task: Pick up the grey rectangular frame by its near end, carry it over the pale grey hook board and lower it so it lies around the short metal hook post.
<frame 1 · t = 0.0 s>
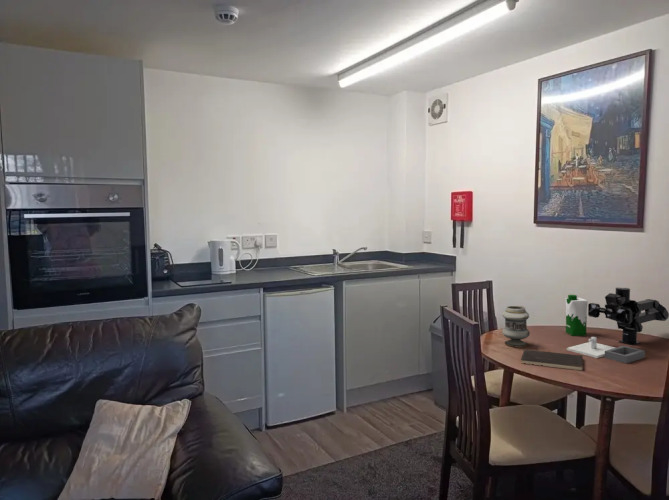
hand: (598, 315, 208), 17 cm above the table, tool horizontal, fingers open, 9 cm apart
grey rectangular frame: (624, 357, 200), on the table
apothecary jar: (515, 344, 224), on the table
hardcover book: (551, 362, 198), on the table
hook board: (593, 350, 211), on the table
milk carton: (575, 334, 239), on the table
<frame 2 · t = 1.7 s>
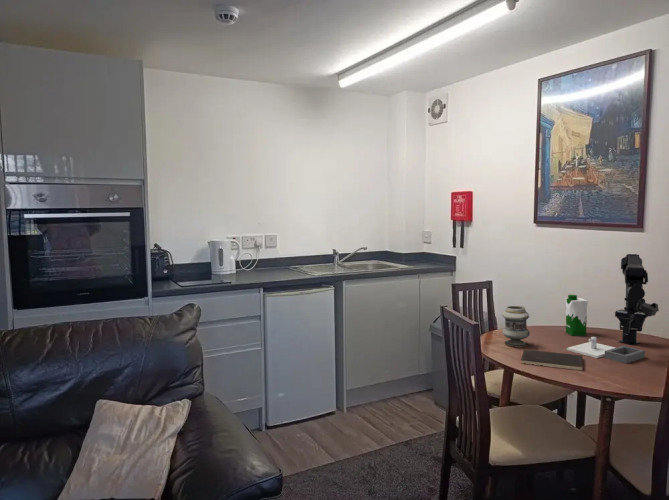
hand: (633, 331, 202), 10 cm above the table, tool pointing down, fingers open, 9 cm apart
nothing on the table moved.
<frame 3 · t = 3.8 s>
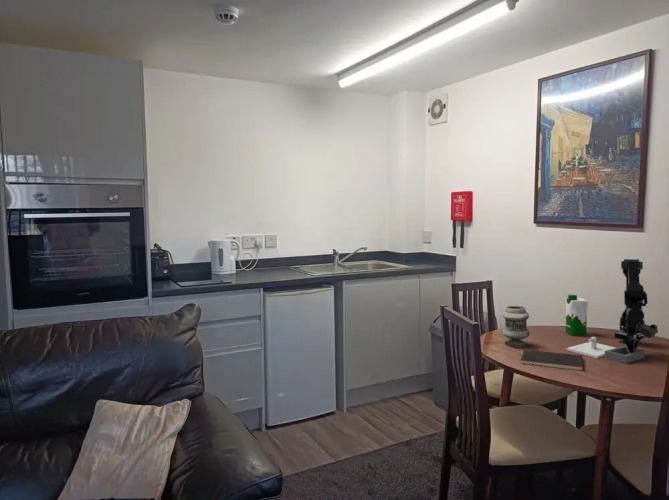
hand: (632, 352, 203), 1 cm above the table, tool pointing down, fingers closed on grey rectangular frame
grey rectangular frame: (624, 357, 200), on the table, touching gripper
everything else where it was.
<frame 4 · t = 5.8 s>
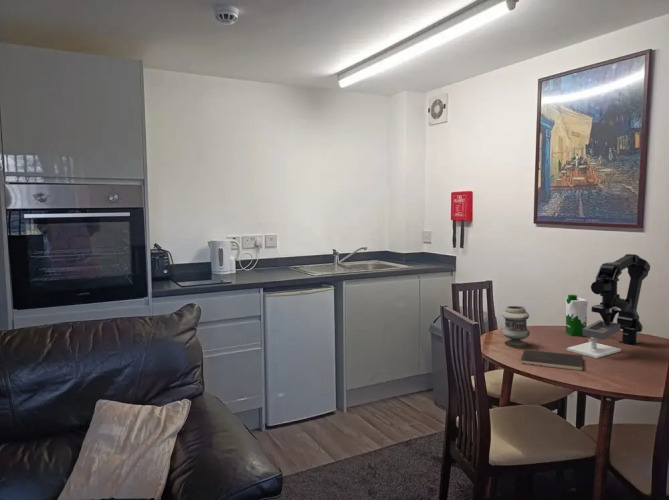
hand: (608, 325, 211), 11 cm above the table, tool pointing down, fingers closed on grey rectangular frame
grey rectangular frame: (601, 332, 208), point 9 cm above the table, tilted 8°, touching gripper
everything else where it was.
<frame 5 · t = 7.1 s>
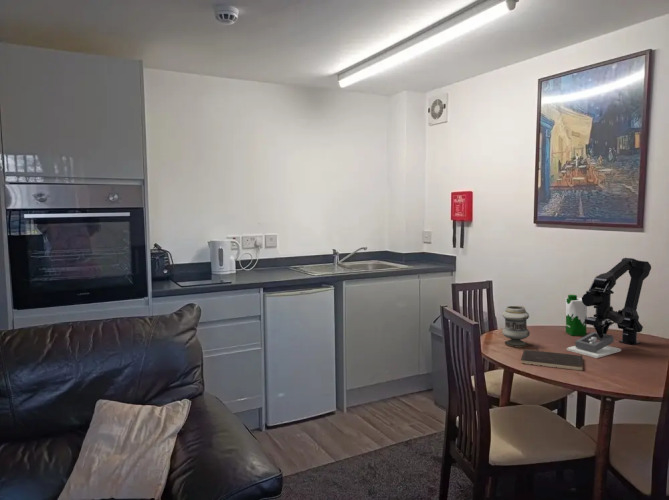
hand: (602, 337, 214), 5 cm above the table, tool pointing down, fingers closed on grey rectangular frame
grey rectangular frame: (594, 344, 211), point 3 cm above the table, tilted 10°, touching gripper
everything else where it was.
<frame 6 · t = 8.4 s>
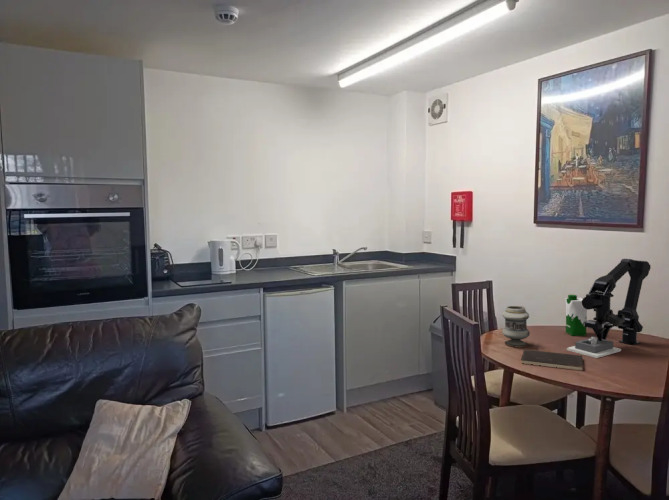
hand: (602, 340, 214), 3 cm above the table, tool pointing down, fingers closed
grey rectangular frame: (594, 348, 211), point 1 cm above the table, touching hook board
everything else where it was.
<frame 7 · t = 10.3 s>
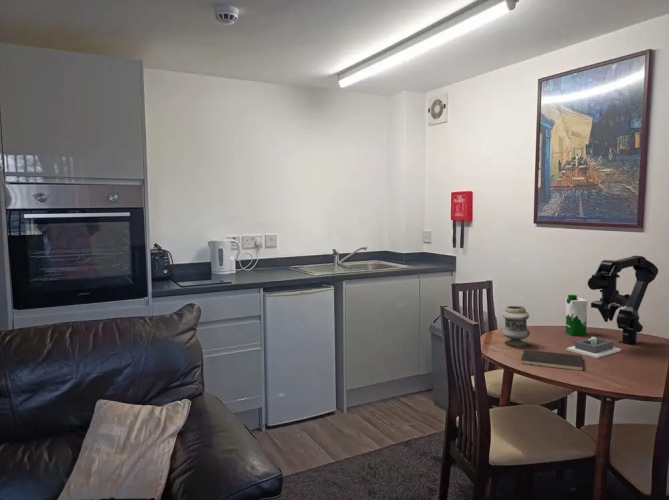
hand: (608, 321, 215), 12 cm above the table, tool pointing down, fingers open, 3 cm apart
nothing on the table moved.
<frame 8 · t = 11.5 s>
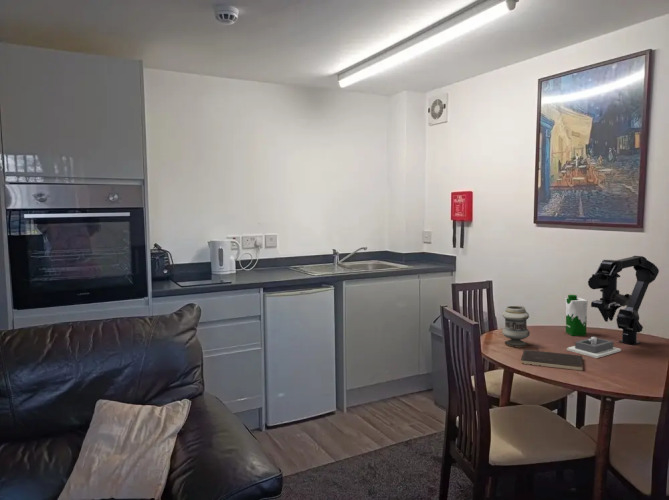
hand: (608, 321, 215), 12 cm above the table, tool pointing down, fingers open, 3 cm apart
nothing on the table moved.
at the end: grey rectangular frame 0.3 cm off-centre on the hook board, point 1.0 cm above the hook board's base; grey rectangular frame tilted 0°; the gripper is holding nothing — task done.
